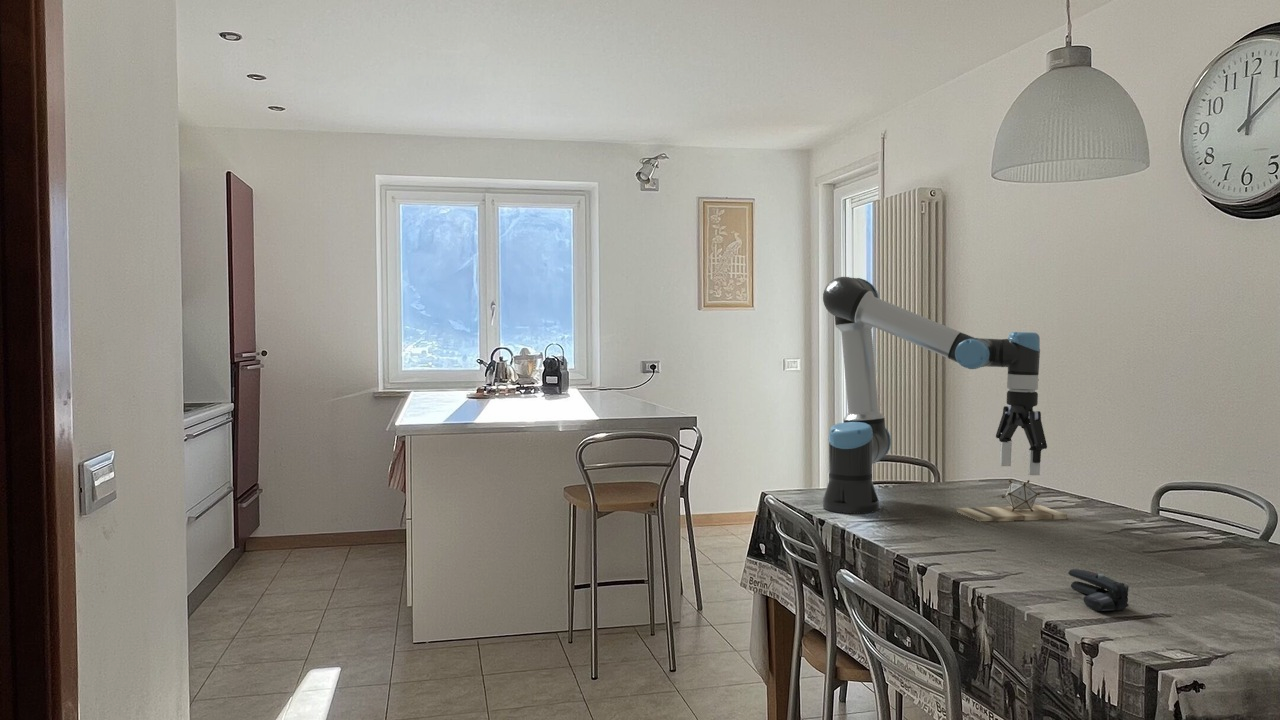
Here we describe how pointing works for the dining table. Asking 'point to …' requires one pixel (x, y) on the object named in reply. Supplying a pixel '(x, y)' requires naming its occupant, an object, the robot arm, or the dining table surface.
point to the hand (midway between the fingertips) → (1019, 470)
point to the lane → (1011, 513)
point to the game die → (1020, 495)
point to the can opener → (1100, 591)
